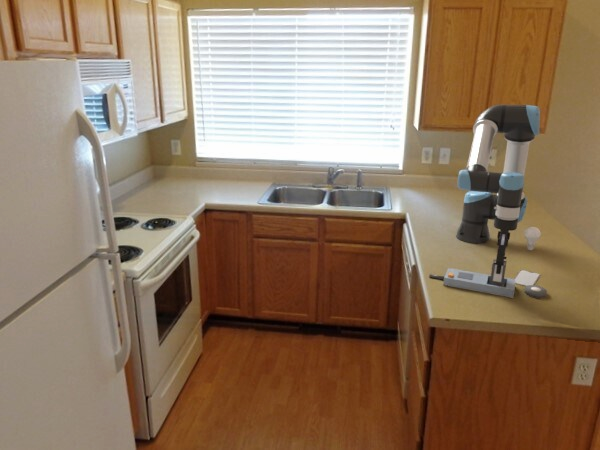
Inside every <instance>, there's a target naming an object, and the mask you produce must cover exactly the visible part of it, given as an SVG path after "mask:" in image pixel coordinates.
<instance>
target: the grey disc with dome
mask: <svg viewBox="0 0 600 450" xmlns="http://www.w3.org/2000/svg"><path fill="white" fill-rule="evenodd" d="M547 293H548V291H547V289H546V288H545V287H542V286H539V285H527V286H524V294H525V295H526V296H528V297H530V298H535V299H544V298H547Z"/></svg>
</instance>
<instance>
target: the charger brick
mask: <svg viewBox="0 0 600 450" xmlns="http://www.w3.org/2000/svg"><path fill="white" fill-rule="evenodd" d="M495 262H496V259H495V258H494V259H493V261H492V264H491V273H490V275H491V279H490V283H489V284H490V285H495V286H501V287H504V286H503V282H504V277H505V274H506V267H507V262H508V261H507V260H504V265H503V272H502V279H501V282H497V281H493V277H494V270H495V264H493V263H495Z"/></svg>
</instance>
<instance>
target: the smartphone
mask: <svg viewBox="0 0 600 450" xmlns="http://www.w3.org/2000/svg"><path fill="white" fill-rule="evenodd" d="M540 277H541V274H540V273H539V272H538V273H537V272H534V271H529V270H525V269H520V270H519V272H518V273H517V274H516V276H515V277H514V278H513V279H515V285H519V286H524V287H526V286H527V285H535V284H536V283H537V281H538V280H539V278H540Z"/></svg>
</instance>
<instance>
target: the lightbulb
mask: <svg viewBox="0 0 600 450" xmlns="http://www.w3.org/2000/svg"><path fill="white" fill-rule="evenodd" d="M541 235H542V233H541V231H540V229H539V228H538V227H536V226H530V227H527V228H526V229H525V231H524V237H525V239H526V243H527V245H526V250H527V251H534V247H535V245H536V242H537V241H538V240H540V238H541Z"/></svg>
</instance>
